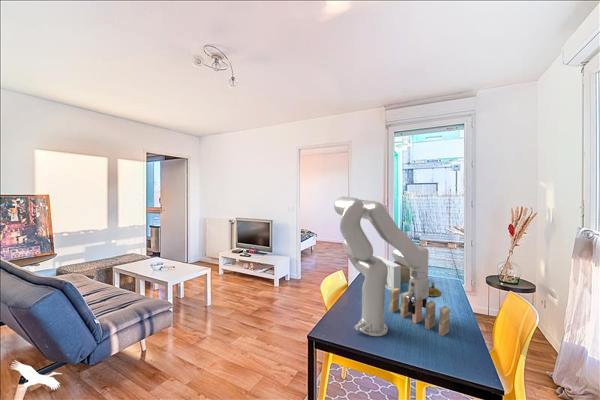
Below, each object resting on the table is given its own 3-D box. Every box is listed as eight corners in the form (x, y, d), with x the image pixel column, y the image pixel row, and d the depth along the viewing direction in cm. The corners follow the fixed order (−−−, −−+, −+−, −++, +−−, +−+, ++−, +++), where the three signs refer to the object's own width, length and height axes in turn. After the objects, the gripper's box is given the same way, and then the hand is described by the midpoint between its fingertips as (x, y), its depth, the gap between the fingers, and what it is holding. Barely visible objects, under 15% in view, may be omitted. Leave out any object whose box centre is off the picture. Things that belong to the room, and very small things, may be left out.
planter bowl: (405, 286, 160) (406, 269, 159) (387, 277, 174) (387, 262, 174) (424, 282, 166) (425, 266, 166) (404, 274, 181) (405, 259, 180)
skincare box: (372, 280, 171) (373, 256, 170) (379, 279, 172) (380, 255, 171) (393, 293, 151) (393, 266, 150) (400, 291, 152) (401, 265, 151)
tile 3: (434, 325, 116) (435, 302, 115) (428, 329, 113) (429, 305, 112) (430, 324, 117) (431, 300, 117) (424, 327, 114) (425, 303, 114)
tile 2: (421, 320, 121) (422, 297, 120) (415, 323, 118) (416, 300, 117) (418, 318, 122) (418, 295, 121) (412, 321, 119) (412, 298, 118)
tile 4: (448, 332, 111) (449, 307, 110) (443, 336, 108) (444, 310, 107) (444, 330, 112) (445, 305, 112) (438, 334, 109) (439, 309, 109)
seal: (440, 301, 143) (440, 291, 155) (441, 293, 142) (442, 284, 155) (421, 296, 147) (423, 286, 160) (422, 288, 147) (425, 279, 159)
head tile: (398, 309, 130) (399, 288, 130) (392, 312, 127) (393, 291, 127) (395, 308, 132) (396, 287, 131) (389, 311, 129) (390, 289, 128)
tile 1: (409, 314, 125) (410, 292, 125) (403, 317, 123) (404, 295, 122) (406, 313, 127) (407, 291, 126) (400, 316, 124) (401, 294, 123)
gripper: (416, 280, 110) (414, 319, 111) (436, 272, 120) (434, 307, 122) (400, 275, 116) (399, 311, 118) (420, 267, 127) (419, 301, 128)
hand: (417, 309), depth 120 cm, fingers open, 9 cm apart
